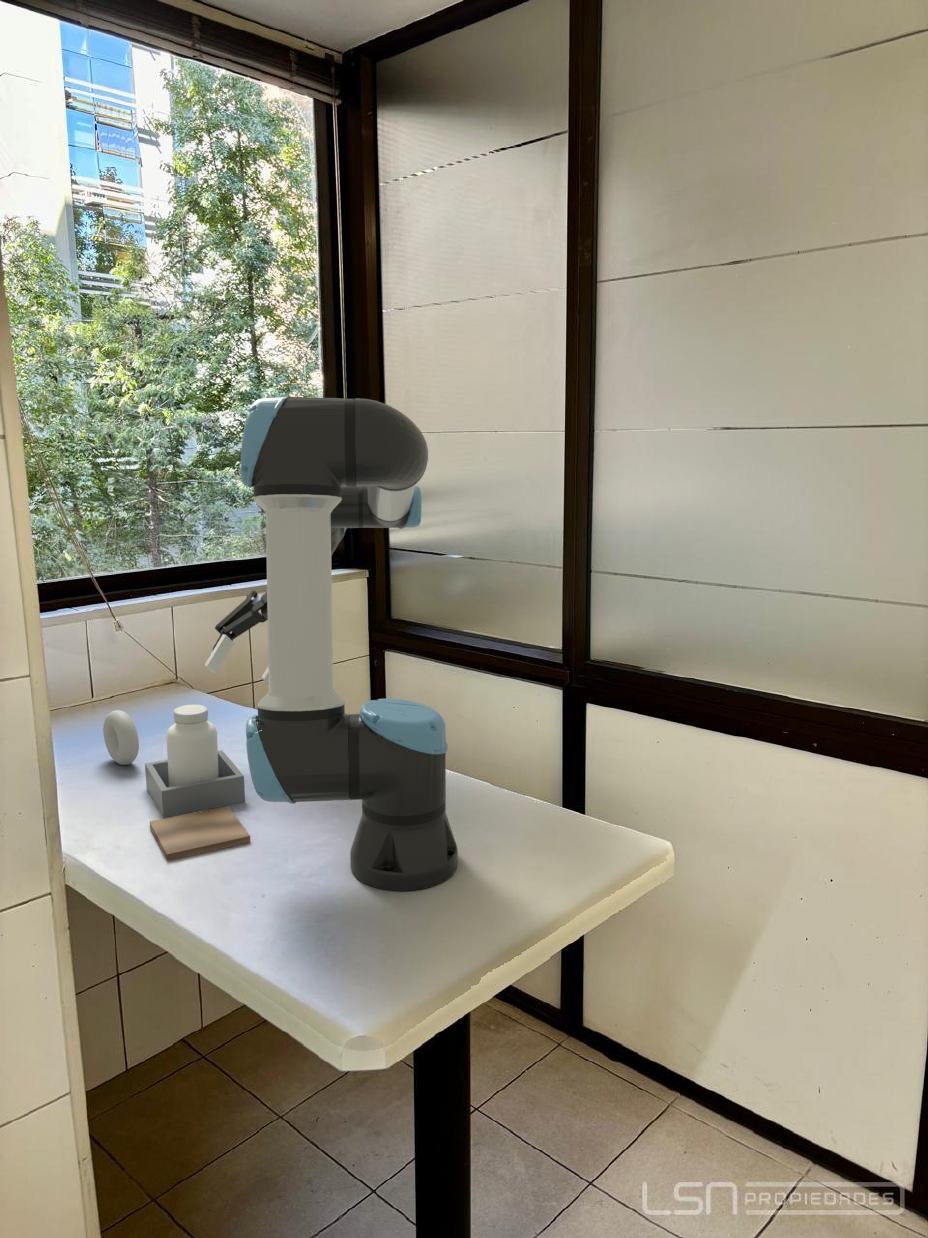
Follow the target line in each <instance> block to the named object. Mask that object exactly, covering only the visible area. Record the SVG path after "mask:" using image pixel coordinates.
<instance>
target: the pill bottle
mask: <svg viewBox="0 0 928 1238" xmlns="http://www.w3.org/2000/svg"><path fill="white" fill-rule="evenodd" d="M173 720H174V722H173V724H172V725H171V726H170V727H169V728H168V729H167V732H166V752H167V754H166V755H167V760H168V775H169V787H173V786H179V785H184V784H189V783H195V782H200V781H206V780H211V779H216V778H219V772H218V751H219V749H218V730H217V727H216V726H215V724H213V723H212V722H210V721H209V709H208V708H207V707H206V706H205V705H203V704H185V705H181V706H178V707H176V708H175V709H174V710H173Z"/></svg>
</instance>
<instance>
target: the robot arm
mask: <svg viewBox="0 0 928 1238" xmlns="http://www.w3.org/2000/svg"><path fill="white" fill-rule="evenodd" d="M243 427H244V428H243V431H242V440H241V450H240V451H241V452H240V479H241V482H242V484H243V486H244V487H248V488H249V489H250V488H253V501H254V502H255V503H256V504H257V505H258V506H259V507H260V508H261V509H262V510H263V511H264V513H265V539H266V540H265V544H266V546H265V547H266V548H265V549H266V592H265V593H264V594H259V593H258V592H257V591H256V590H251V591H250V592H249V594H248V595H247V597H246V598H245V599H244V600H243V601H242V602H241V603H240V604H239V605H237V606H236V607H235V608H233V610H232V611H230V612H229V614H227V615H226V616H225V617H223V619H221V620H220V621H219V622H218V623H217V624H216V625H215V627H214V629H215V630H216V632H217V633H219V637H218V639H217V641H216V642H215V644H214V645H213V647H212V652H211V653H210V656H208V658H207V660H206V662H205V663H204V666H205V667H206V668H207V669H208V670H209V671H210V672H212V673H213V674H217V673H218V672H219V670H220V668H221V667H222V665H223V663H224V662H225V660H226V658H227V657H228V655H229V653H230V652H231V650H232V648H233V646H234V645H235V642H234V640H235V639H236V638H238V637H239V636H242V634H244V633H245V632H247V631H249V630H250V629H252V628H253V627H255V626H257V625H258V624H259V623H265V622H267V651H268V652H267V655H268V658H267V660H268V666H267V667H266V669H265V670H264V672H263V674H262V676H261V680H263V681H264V682H265V683H266V684H267V685H268V691H267V693H266V694H265V695H264V696H263V697H262V698H261V699H260V700H259V701H258V702H257V714H254V715H252V716H250V717H249V718H248V719H246V720H247V721H246V726H245V736H246V745H245V746H246V754H247V762H248V768H249V773H250V778H251V782H252V785H253V787H254V790H255V792H256V795H257V796H258V797H259V798H260V799H261V800H263V801H265V802H268V803H269V802H270V803H290V804H291V805H292V804H296V803H303V802H304V803H305V802H306V803H309V802H330V801H331V802H333V801H335V802H336V801H357V800H359V801H361V804H362V805H361V808H362V809H361V813H362V814H361V817H360V820H359V823H358V827H357V828H356V829H357V830H356V832H355V834H354V835H355V836H354V839H353V842H352V844H351V848H350V854H349V855H350V857H349V858H350V859H349V860H350V862H349V863H350V864H349V865H350V870H351V873H352V874H353V875H354V877H355V878H357V880H359V881H360V882H361V883H364V884H366V885H368V886H371V887H374V888H376V889H377V888H378V889H381V890H387V891H402V892H403V891H412V890H413V891H417V890H422V889H427V888H430V887H433V886H437V885H439V884H442V883H444V882H445V881H446V880H448V879H449V878H451V876H453V875H454V873H455V872H456V871H457V869H458V866H459V865H458V858H459V855H458V854H459V852H458V851H459V850H458V845H457V842H456V839H455V836H454V834H453V830H452V827H451V825H450V822H449V819H448V815H447V811H446V810H447V808H446V803H447V801H446V798H447V797H446V796H447V795H446V794H447V791H446V790H447V788H446V785H447V783H446V782H447V779H446V778H447V777H446V776H447V775H446V769H447V768H446V764H447V763H446V754H447V753H446V752H447V751H448V748H449V747H448V743H447V737H446V736H447V735H446V730H447V729H446V723H445V720H444V717H442V715H441V714H440V713H439V712H438V711H437V710H435V709H433V708H432V707H431V706H427V705H425V704H422V703H420V702H416V701H411V700H405V699H401V698H400V699H399V698H378V699H371V700H369V701H366V702H364V703H363V704H362V705H361V709H359V711H358V712H359V713H351V714H349V713H345V712H346V711H345V709H346V708H345V706H346V705H345V700H344V699H343V698H342V697H341V695H339V694H338V693H337V692H336V691H335V689H334V661H333V660H334V659H333V657H334V655H333V649H334V648H333V594H332V593H333V590H332V588H333V586H332V585H333V584H332V556H333V554H334V552H335V550H336V549H337V547H338V545H339V543H340V542H341V541H342V539H343V538H344V536H345V533H346V530H347V529H355V528H356V529H358V528H360V529H361V528H362V529H363V528H375V529H376V528H377V529H378V528H379V529H380V528H381V529H384V528H385V529H389V528H390V529H392V528H393V529H395V528H396V529H399V530H400V529H401V530H403V529H405V528H416V527H419V526H420V524H421V523H422V522H421V521H422V492H421V489H420V487H419V486H417V484H418V483H419V481H421V479H422V477H424V475H425V472H426V470H427V467H428V462H429V448H428V445H427V441H426V439H425V436H424V434H423V433H422V431H421V429H420V428H419V427H418V426H417V425H416V424H415V423H414V422H413V421H412V420H411V419H410V418H409V417H408V416H407V415H406V414H404V413H403V412H401V411H400V410H398V409H396V408H394V407H393V406H391V405H389V404H386V403H384V402H380V401H378V400H373V399H368V398H359V397H358V398H340V397H339V398H338V397H312V396H311V397H309V396H308V397H306V396H304V397H303V396H287V395H285V396H283V397H269V398H267V397H266V398H259V399H257V400H255V401H254V402H253V403H252V404H251V405H250V406H249V408H248V412H247V414H246V418H245V422H244V426H243Z"/></svg>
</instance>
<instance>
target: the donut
mask: <svg viewBox="0 0 928 1238" xmlns="http://www.w3.org/2000/svg"><path fill="white" fill-rule="evenodd" d="M102 729H103V738H104V740H103V741H104V743H105V748H106V750H107V752H108V754H109V756H110V757H111V759H112V760H113V762H115V763H116V764H119V765H122V766H126V765H127V766H128V765H130V764H132V763H133V762H134V761H135V760H136V759H137V757H138V754H139V750H140V748H139V747H140V742H139V741H140V740H139V735H138V733H139V732H138V730H137V727H136V725H135V722H134V720H133V719H132V718H131V715H129V714H128V713H127V712H125V711H124V710H120V709H115V710H112V711H110V712H109V713H107V715H106V717H105V718H104V720H103V728H102Z"/></svg>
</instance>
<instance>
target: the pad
mask: <svg viewBox="0 0 928 1238" xmlns="http://www.w3.org/2000/svg"><path fill="white" fill-rule="evenodd" d="M149 828H150V831H151V832H152V834H153V836H154V838H155V839H156V842H157V845H158V846H159V848H160V849H161V852H162V853H163V856H164V857H165V859H166V860H167V862H168V861H174V860H176V859H182V858H187V857H191V856H194V855H199V854H204V853H209V852H213V851H217V850H221V849H225V848H230V847H235V846H239V845H244V844H248V843H251V835H250V834H249V832H248V831H247V830H246V828H245V827H244V825H243V824H242V823H241V822H240V820H239V819H238V818H237V817H236V814H234V812H233V811H232V809H231V808H230V807H229V805H226V806H221V807H216V808H211V809H206V810H201V811H196V812H191V813H186V814H181V815H176V816H171V817H166V818H162V819H161V818H160V819H156V820H151V821H149Z"/></svg>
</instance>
